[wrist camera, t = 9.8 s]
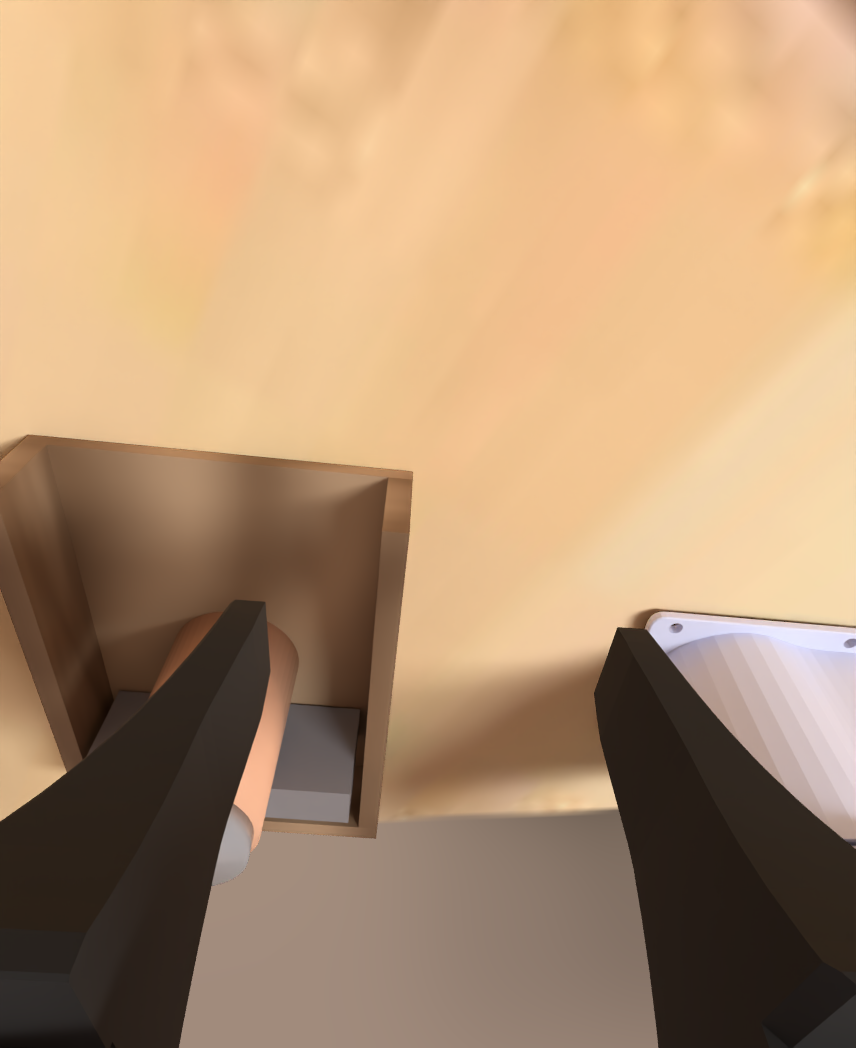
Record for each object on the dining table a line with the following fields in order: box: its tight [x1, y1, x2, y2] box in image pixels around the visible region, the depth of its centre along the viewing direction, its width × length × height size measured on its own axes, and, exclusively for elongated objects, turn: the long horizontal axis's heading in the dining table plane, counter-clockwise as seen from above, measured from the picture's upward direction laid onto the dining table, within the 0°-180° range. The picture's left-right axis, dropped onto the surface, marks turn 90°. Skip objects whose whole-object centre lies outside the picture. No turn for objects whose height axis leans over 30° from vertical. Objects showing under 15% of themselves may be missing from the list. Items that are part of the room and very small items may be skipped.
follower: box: [86, 691, 360, 823], centre depth 27 cm, size 10×2×5 cm, turn 84°
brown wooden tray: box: [0, 435, 413, 838], centre depth 25 cm, size 13×17×4 cm
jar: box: [148, 612, 299, 886], centre depth 23 cm, size 5×5×8 cm
